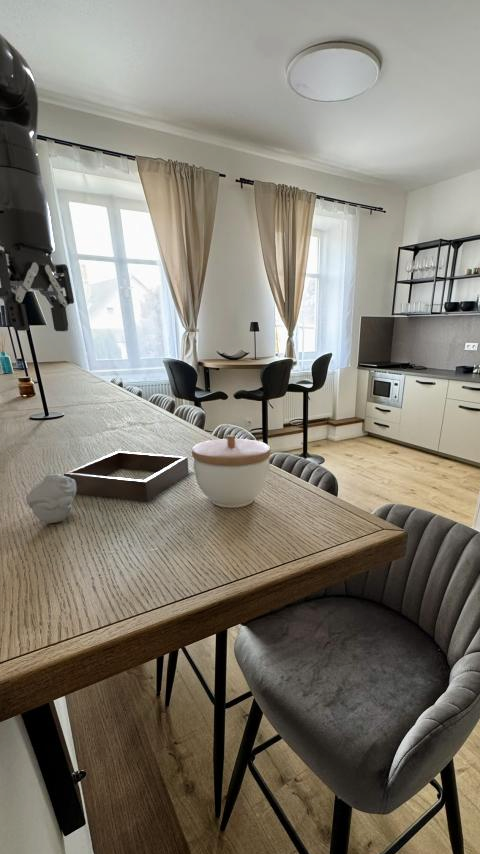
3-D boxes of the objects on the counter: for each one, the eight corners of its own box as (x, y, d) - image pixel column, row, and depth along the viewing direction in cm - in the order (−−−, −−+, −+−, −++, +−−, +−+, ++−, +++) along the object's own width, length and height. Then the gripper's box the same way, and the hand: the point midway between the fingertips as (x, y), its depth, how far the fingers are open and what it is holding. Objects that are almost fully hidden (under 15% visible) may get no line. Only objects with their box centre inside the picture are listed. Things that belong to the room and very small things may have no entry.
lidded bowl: (180, 508, 66) (175, 440, 62) (215, 483, 77) (212, 425, 73) (254, 519, 62) (254, 448, 58) (279, 491, 74) (280, 430, 70)
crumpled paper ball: (91, 517, 62) (83, 473, 59) (45, 534, 56) (35, 486, 54) (67, 508, 65) (59, 466, 62) (21, 524, 59) (10, 478, 57)
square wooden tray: (66, 492, 71) (63, 473, 70) (119, 467, 86) (117, 451, 84) (147, 501, 68) (145, 482, 67) (188, 474, 82) (187, 457, 81)
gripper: (36, 225, 68) (55, 331, 74) (-45, 199, 55) (-15, 329, 61) (75, 224, 67) (91, 332, 73) (1, 196, 54) (27, 330, 60)
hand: (42, 331), depth 67 cm, fingers open, 8 cm apart
